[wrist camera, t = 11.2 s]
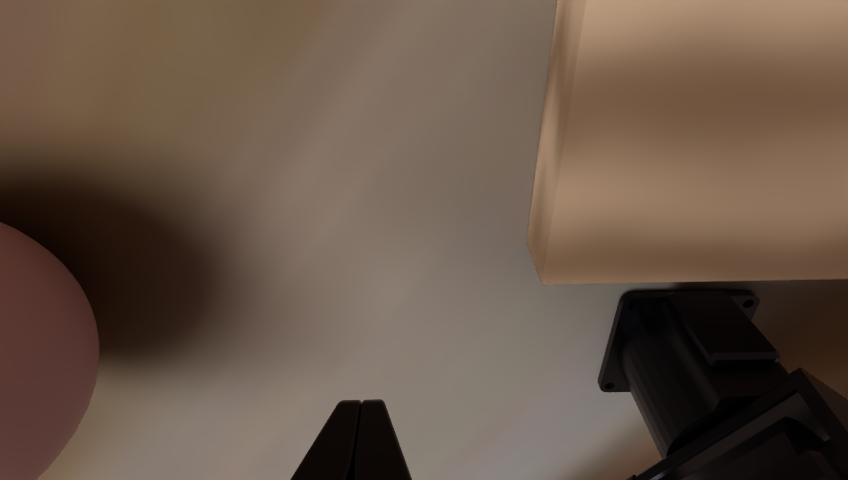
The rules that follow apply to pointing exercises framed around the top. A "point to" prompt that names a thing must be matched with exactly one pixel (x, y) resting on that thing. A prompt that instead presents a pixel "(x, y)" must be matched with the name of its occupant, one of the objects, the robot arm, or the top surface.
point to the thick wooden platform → (693, 143)
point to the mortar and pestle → (41, 356)
